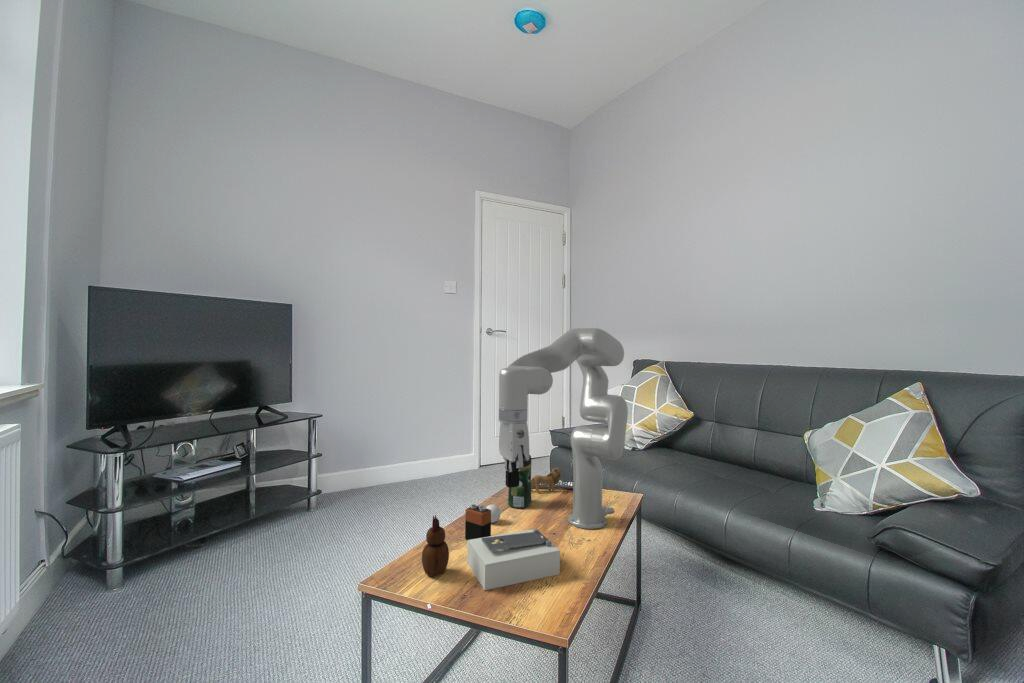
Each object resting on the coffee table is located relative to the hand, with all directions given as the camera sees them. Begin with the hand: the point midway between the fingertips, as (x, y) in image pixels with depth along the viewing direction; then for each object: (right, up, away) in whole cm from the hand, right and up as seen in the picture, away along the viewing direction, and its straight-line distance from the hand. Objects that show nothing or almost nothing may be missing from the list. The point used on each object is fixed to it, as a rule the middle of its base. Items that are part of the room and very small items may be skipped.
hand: (512, 486), depth 113 cm
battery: (-10, -22, +16) cm, 29 cm away
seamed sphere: (-7, -22, +28) cm, 36 cm away
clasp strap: (+1, -15, 0) cm, 15 cm away
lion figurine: (+13, -23, +61) cm, 66 cm away
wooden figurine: (-19, -21, -3) cm, 29 cm away
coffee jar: (+3, -22, +46) cm, 51 cm away
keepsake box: (0, -21, -1) cm, 21 cm away
